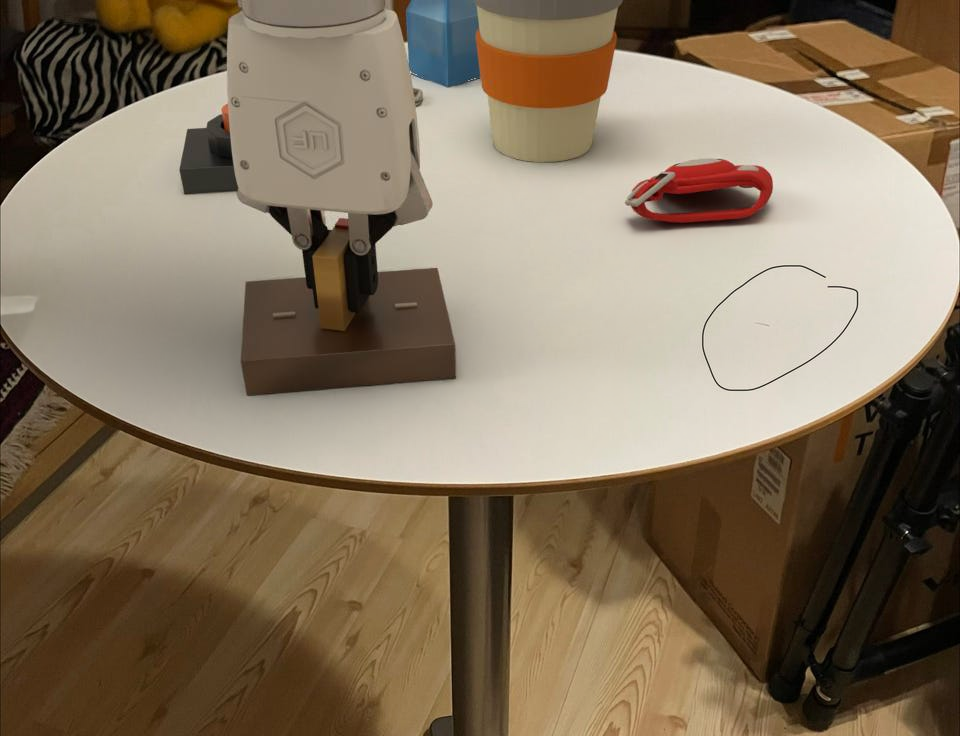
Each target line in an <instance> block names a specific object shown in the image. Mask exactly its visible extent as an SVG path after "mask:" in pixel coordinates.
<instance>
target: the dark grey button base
mask: <svg viewBox="0 0 960 736" xmlns="http://www.w3.org/2000/svg"><path fill="white" fill-rule="evenodd" d="M185 134H186V135H185V140H184V145H183V150H182V154H181V158H180V164H179V175H180V180H181V185H182V189H183V195H199V194H214V193H230V192H237V191H238V184H237V181H236V176H235V171H234V164H233V157H232V148H231V137H230V132H227V131H225V128H224V122H223V116H222V113H221V114H218V115H217V116H216V115H215V117H213V118H212V119H210V120H209V121H207V123H206V127H196V128H195V127H193V128H187V129H186V133H185Z"/></svg>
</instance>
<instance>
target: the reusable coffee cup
mask: <svg viewBox="0 0 960 736" xmlns="http://www.w3.org/2000/svg"><path fill="white" fill-rule="evenodd" d="M473 2H474V4H476V5H477V13H478V21H479V30H478V31H477V32H476V44H477V52H478V60H479V68H480V76H481V78H480V84H481V88H482V91H483V93H485V94H486V95H487V101H488V102H487V103H488V110H489V118H490V126H491V135H492V142H493V146H494V148H495V149H496V150H497V151H498V152H499V153H501V154H503V156H506V157H509V158H512V159H516V160H518V161H519V160H521V161H525V162H533V163H535V162H536V163H554V162H555V163H556V162H561V161H562V162H563V161H568V160H571V159H575V158H578V157H581V156H582V155H584V154H586V153H588V152H589V150H590V149H591V147H592V145H593V139H594V133H595V128H596V123H597V118H598V113H599V107H600V104H601V103H600V102H601V97H602V96H604V95H605V94H606V92H607V90H608V86H609V81H610V76H611V70H612V66H613V60H614V55H615V50H616V47H617V40H618V35H617V33H616V31H615V25H616V20H617V14H618V8H619V7H620V6H621V5H622V4H623V2H624V0H473Z"/></svg>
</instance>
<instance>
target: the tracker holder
mask: <svg viewBox="0 0 960 736" xmlns="http://www.w3.org/2000/svg"><path fill="white" fill-rule="evenodd" d="M735 187H738V188H742V189H752V188H755V189H756V190H757V191H760V192H759V197H758V199H757V200H756V202H755V204H753V205H751V206H748V207H740V208H739V207H738V208H727V209H726V208H725V209H711V210H699V211H698V210H697V211H684V212H671V213H667V212H666V213H660V212H653V211H651V210H649V209H648V208H647V205H646V203H648V202H655V201H660V200H661V199H662V198H663V197H664V193H665V194H673V195H682V194H692V193H693V194H694V193H700V192H707V191H713V190H721V189H729V188H735ZM773 190H774V181H773V177H772V174H771V173H770V171H768V170H767V169H766V167H764V166H761V165H757V164H756V165H755V164H740V165H738V164H737V165H735V164H734V163H733V162H731V161H729V160H726V159H722V158H697V159H690V160H687V161H686V160H685V161H682V162H679V163H675V164H672V165H671V166H669V167H668V168H667V169H665V170H664V171H661V172H660V173H658V174H657V175H654V176H651V177H650V178H648V179H645V180H642V181H640V182H638V183H637V184H636V185H635V186H634V187H633V188H632V190H631V192H630V194H629V195H628V196H627V198H626V200H625V201H624V204H625V205H626V206H629V207H631V209H632V210H633V212H634V213H636V214H637V215H638V216H640V217H642V218H644V219H648V220H652V221H658V222H659V221H660V222H665V223H666V222H668V223H694V222H695V223H696V222H710V221H712V222H713V221H725V220H740V219H745V218H748V217H750V216H752V215H754V214H755V213H757V212H758V211H760V210H761V209H763V208H764V207H765V206H766V205H767V204H768V202H769V201H770V198H771V197H772V194H773Z"/></svg>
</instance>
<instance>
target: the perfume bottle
mask: <svg viewBox="0 0 960 736" xmlns="http://www.w3.org/2000/svg"><path fill="white" fill-rule="evenodd" d="M405 15H406V16H405V17H406V37H407V59H408V64H409V69H410V71H411V72H412V73H414V74H417V75H418V76H420V77H423V78H425V79H424V80H426V79H427V80H426V81H428V80H429V81H428V82H432V83H435V84H437V85H440V86H442V87H445V88H452V87H455V86H459V85H462V84H465V83H467V82H466V81H468V80H471V79H474V78H478V79H480V78H479V77H481V76H480V68H479V60H478V52H477V44H476V32H477V31H478V30H479V21H478V13H477V5H476V4H474V2H473V0H410V2H409V4H408V6H407V8H406V10H405ZM418 76H417V77H418ZM420 77H419V78H420ZM423 78H422V79H423ZM464 82H465V83H464ZM468 82H469V81H468ZM461 83H462V84H461ZM458 84H459V85H458Z"/></svg>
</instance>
